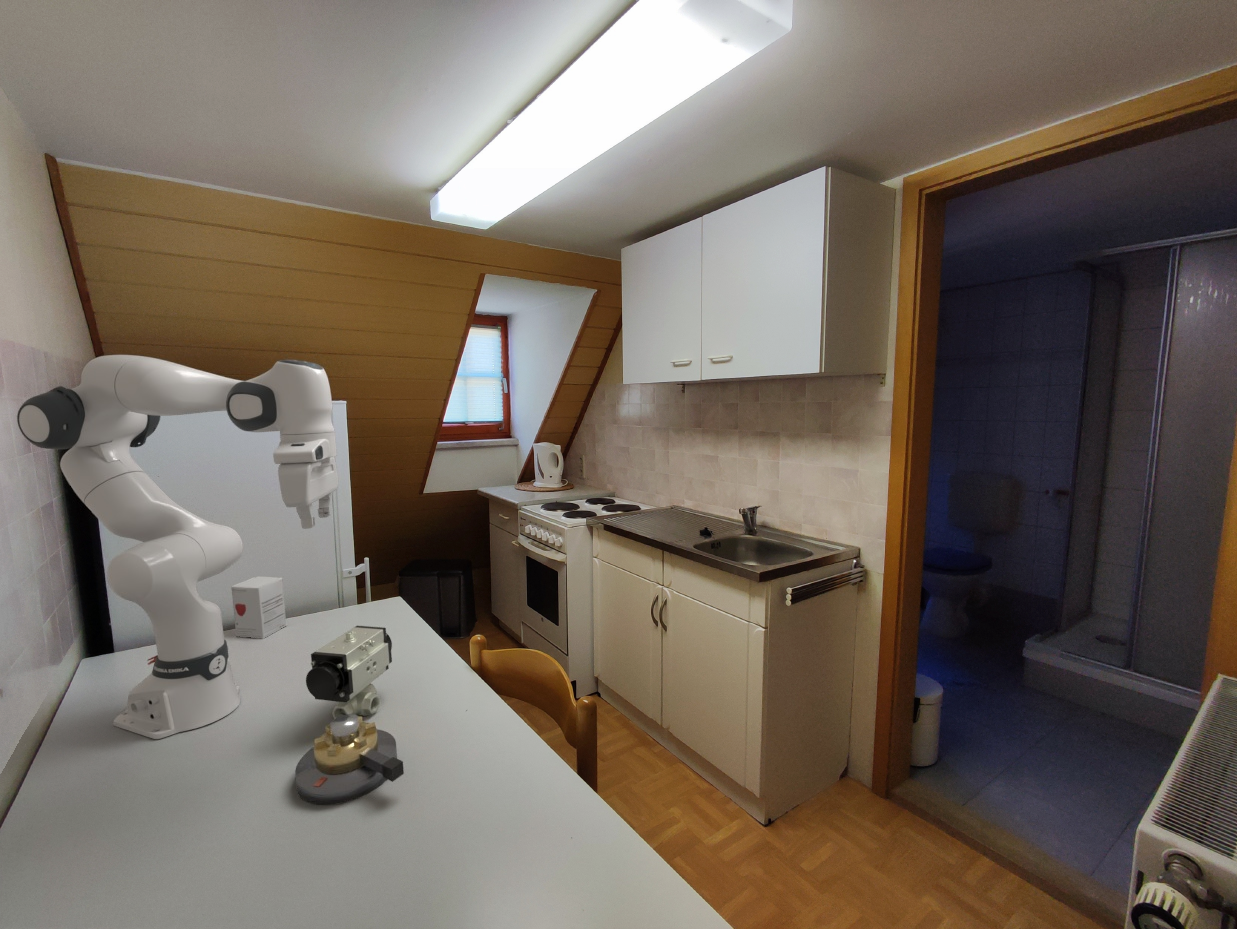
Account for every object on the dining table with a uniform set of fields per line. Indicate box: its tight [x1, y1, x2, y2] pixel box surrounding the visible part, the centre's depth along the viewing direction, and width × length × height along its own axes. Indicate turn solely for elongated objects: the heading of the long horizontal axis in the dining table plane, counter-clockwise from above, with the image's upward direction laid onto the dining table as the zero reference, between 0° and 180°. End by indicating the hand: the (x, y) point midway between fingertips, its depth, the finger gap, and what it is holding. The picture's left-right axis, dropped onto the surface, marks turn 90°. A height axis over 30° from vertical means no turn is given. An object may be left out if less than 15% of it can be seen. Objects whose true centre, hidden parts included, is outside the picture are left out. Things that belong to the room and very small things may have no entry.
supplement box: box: [230, 576, 287, 640], centre depth 156 cm, size 9×9×15 cm
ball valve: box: [305, 625, 393, 720], centre depth 114 cm, size 18×8×18 cm, turn 168°
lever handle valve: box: [313, 715, 405, 782], centre depth 94 cm, size 18×10×4 cm, turn 60°
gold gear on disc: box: [294, 714, 398, 806], centre depth 97 cm, size 16×16×10 cm
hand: (317, 522), depth 103 cm, fingers open, 8 cm apart
